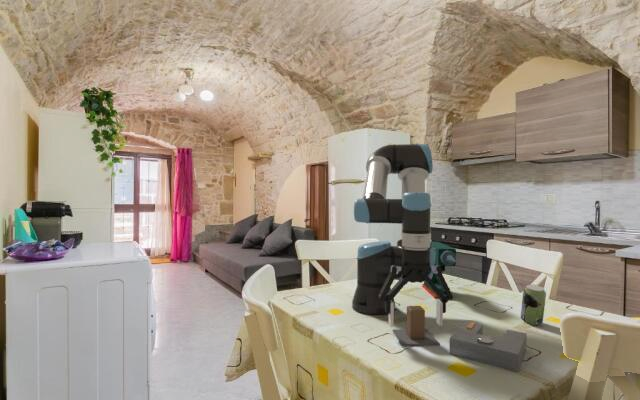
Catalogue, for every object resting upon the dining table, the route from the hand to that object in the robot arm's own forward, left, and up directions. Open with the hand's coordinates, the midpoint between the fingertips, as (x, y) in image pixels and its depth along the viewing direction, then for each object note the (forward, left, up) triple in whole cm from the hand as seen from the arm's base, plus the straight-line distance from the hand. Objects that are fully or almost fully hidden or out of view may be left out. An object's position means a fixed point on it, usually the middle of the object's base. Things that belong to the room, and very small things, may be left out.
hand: (415, 324), depth 98 cm
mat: (0, 0, -4) cm, 4 cm away
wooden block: (0, 0, -3) cm, 3 cm away
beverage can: (+41, +11, -4) cm, 43 cm away
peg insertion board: (+16, -9, -4) cm, 19 cm away
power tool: (+24, +41, -4) cm, 48 cm away
